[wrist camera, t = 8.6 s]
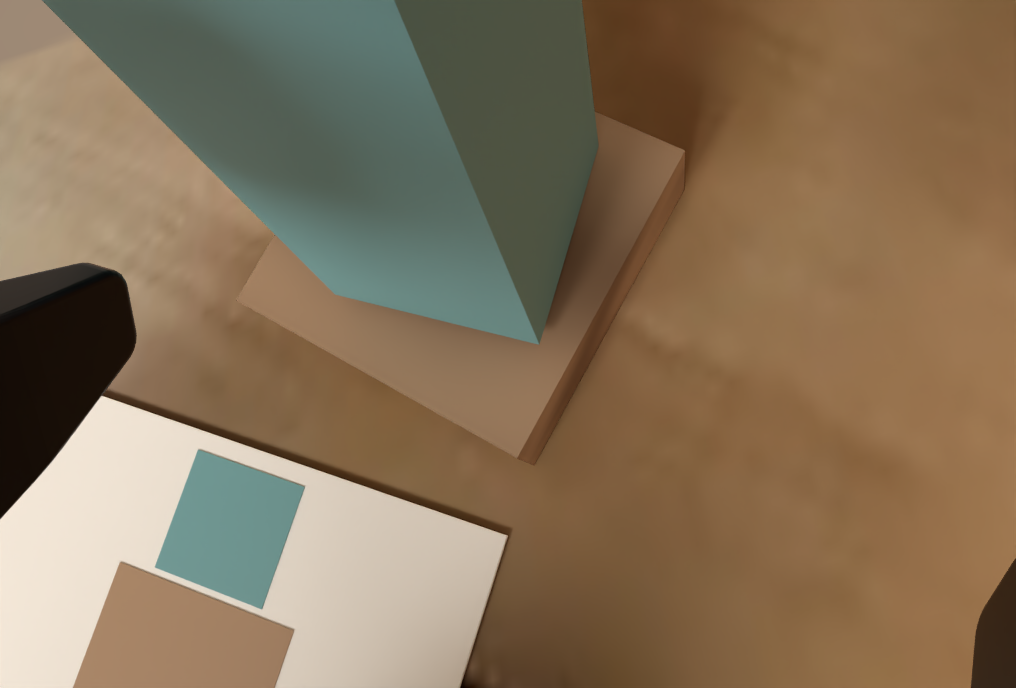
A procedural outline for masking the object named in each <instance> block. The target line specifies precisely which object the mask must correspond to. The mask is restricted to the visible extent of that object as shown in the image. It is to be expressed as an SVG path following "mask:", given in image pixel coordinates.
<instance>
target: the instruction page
mask: <svg viewBox="0 0 1016 688" xmlns="http://www.w3.org/2000/svg"><path fill="white" fill-rule="evenodd" d="M507 538H508V535H505V534H502V533H499V532H496V531H493V530H490V529H487V528H484V527H482V526H479V525H476V524H473V523H470V522H467V521H464V520H461V519H458V518H455V517H453V516H450V515H447V514H444V513H441V512H438V511H435V510H432V509H429V508H426V507H424V506H421V505H418V504H415V503H412V502H409V501H406V500H403V499H400V498H397V497H395V496H392V495H389V494H386V493H383V492H380V491H377V490H374V489H371V488H368V487H366V486H363V485H360V484H357V483H354V482H351V481H348V480H345V479H342V478H339V477H337V476H334V475H331V474H328V473H325V472H322V471H319V470H316V469H313V468H310V467H308V466H305V465H302V464H299V463H296V462H293V461H290V460H287V459H284V458H281V457H279V456H276V455H273V454H270V453H267V452H264V451H261V450H258V449H255V448H252V447H250V446H247V445H244V444H241V443H238V442H235V441H232V440H229V439H226V438H223V437H221V436H218V435H215V434H212V433H209V432H206V431H203V430H200V429H197V428H194V427H192V426H189V425H186V424H183V423H180V422H177V421H174V420H171V419H168V418H165V417H163V416H160V415H157V414H154V413H151V412H148V411H145V410H142V409H139V408H136V407H134V406H131V405H128V404H125V403H122V402H119V401H116V400H113V399H110V398H107V397H105V396H101V397H100V399H99V400H98V401H97V403H96V404H95V405H94V407H93V408H92V409H91V411H90V412H89V413H88V415H87V416H86V417H85V419H84V420H83V421H82V423H81V424H80V426H79V427H78V428H77V430H76V431H75V432H74V434H73V435H72V436H71V438H70V439H69V440H68V442H67V443H66V444H65V446H64V447H63V448H62V450H61V451H60V452H59V453H58V455H57V456H56V457H55V458H54V460H53V461H52V462H51V463H50V465H49V466H48V467H47V468H46V469H45V470H44V472H43V473H42V474H41V475H40V476H39V477H38V479H37V480H36V481H35V482H34V483H33V484H32V485H31V486H30V487H29V488H28V490H27V491H26V492H25V493H24V494H23V495H22V496H21V497H20V498H19V499H18V501H17V502H16V503H15V504H14V505H13V506H12V507H11V508H10V509H9V510H8V512H7V513H6V514H5V515H4V516H3V517H2V518H1V519H0V688H460V686H461V683H462V680H463V677H464V674H465V671H466V667H467V664H468V661H469V658H470V655H471V652H472V648H473V645H474V642H475V639H476V636H477V633H478V629H479V626H480V623H481V620H482V617H483V614H484V611H485V607H486V604H487V601H488V598H489V595H490V592H491V588H492V585H493V582H494V579H495V576H496V573H497V570H498V566H499V563H500V560H501V557H502V554H503V551H504V547H505V544H506V541H507Z"/></svg>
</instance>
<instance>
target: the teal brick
mask: <svg viewBox="0 0 1016 688" xmlns="http://www.w3.org/2000/svg"><path fill="white" fill-rule="evenodd" d="M42 1H43V2H44V3H45V4H46V5H47V6H48V7H49V8H50V9H51V10H52V11H53V12H54V13H55V14H56V15H57V16H58V17H59V18H60V19H61V20H62V21H63V22H64V23H65V24H66V25H67V26H68V27H69V28H70V29H71V30H72V31H73V32H74V33H75V34H76V35H77V36H78V37H79V38H80V39H81V40H82V41H83V42H84V43H85V44H86V45H87V46H88V47H89V48H90V49H91V50H92V51H93V52H94V53H95V54H96V55H97V56H98V57H99V58H100V59H101V60H102V61H103V62H104V63H105V64H106V65H107V66H108V67H109V68H110V69H111V70H112V71H113V72H114V73H115V74H116V75H117V76H118V77H119V78H120V79H121V80H122V81H123V82H124V83H125V84H126V85H127V86H128V87H129V88H130V89H131V90H132V91H133V92H134V93H135V94H136V95H137V96H138V97H139V98H140V99H141V100H142V101H143V102H144V103H145V104H146V105H147V106H148V107H149V108H150V109H151V110H152V111H153V112H154V113H155V114H156V115H157V116H158V117H159V118H160V119H161V120H162V121H163V122H164V123H165V124H166V125H167V126H168V127H169V128H170V129H171V130H172V131H173V132H174V133H175V134H176V135H177V136H178V137H179V138H180V139H181V140H182V141H183V142H184V143H185V144H186V145H187V146H188V147H189V148H190V149H191V150H192V151H193V152H194V153H195V154H196V155H197V156H198V158H199V159H200V160H201V161H202V162H203V163H204V164H205V165H206V166H207V167H208V168H209V169H210V170H211V171H212V172H213V173H214V174H215V175H216V176H217V177H218V178H219V179H220V180H221V181H222V182H223V183H224V184H225V185H226V186H227V187H228V188H229V189H230V190H231V191H232V192H233V193H234V194H235V195H236V196H237V197H238V198H239V199H240V200H241V201H242V202H243V203H244V204H245V205H246V206H247V207H248V208H249V209H250V210H251V211H252V212H253V213H254V214H255V215H256V216H257V217H258V218H259V219H260V220H261V221H262V222H263V223H264V224H265V225H266V226H267V227H268V228H269V229H270V230H271V231H272V232H273V233H274V234H275V235H276V236H277V237H278V238H279V239H280V240H281V241H282V242H283V243H284V244H285V245H286V246H287V247H288V248H289V249H290V250H291V251H292V252H293V253H294V254H295V255H296V256H297V257H298V258H299V259H300V260H301V261H302V262H303V263H304V264H305V265H306V266H307V267H308V268H309V269H310V270H311V271H312V272H313V273H314V274H315V275H316V276H317V277H318V278H319V279H320V280H321V281H322V282H323V283H324V284H325V285H326V286H327V287H328V288H329V289H330V290H331V291H332V292H333V293H334V294H335V295H339V296H343V297H347V298H351V299H355V300H359V301H363V302H367V303H371V304H375V305H379V306H383V307H388V308H392V309H396V310H400V311H404V312H408V313H412V314H416V315H420V316H424V317H428V318H432V319H436V320H440V321H444V322H449V323H453V324H457V325H461V326H465V327H469V328H473V329H477V330H481V331H485V332H489V333H493V334H497V335H501V336H506V337H510V338H514V339H518V340H522V341H526V342H530V343H534V344H538V345H539V344H540V341H541V338H542V334H543V331H544V328H545V324H546V321H547V318H548V314H549V311H550V308H551V304H552V301H553V298H554V294H555V291H556V287H557V284H558V281H559V277H560V274H561V271H562V267H563V264H564V261H565V257H566V254H567V251H568V247H569V244H570V241H571V237H572V234H573V230H574V227H575V224H576V220H577V217H578V214H579V210H580V207H581V204H582V200H583V197H584V194H585V190H586V187H587V184H588V180H589V177H590V173H591V170H592V167H593V163H594V160H595V157H596V153H597V150H598V147H599V145H598V136H597V127H596V119H595V110H594V101H593V93H592V84H591V76H590V67H589V58H588V50H587V41H586V32H585V24H584V15H583V6H582V0H42Z"/></svg>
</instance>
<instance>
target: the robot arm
mask: <svg viewBox="0 0 1016 688" xmlns="http://www.w3.org/2000/svg"><path fill="white" fill-rule="evenodd" d="M136 337H137V335H136V328H135V323H134V318H133V313H132V308H131V302H130V297H129V292H128V287H127V283H126V281H125V279H124V278H123V276H122V275H121V274H120V273H118V272H117V271H115V270H111V269H108V268H105V267H101V266H98V265H95V264H91V263H78V264H74V265H69V266H65V267H61V268H56V269H52V270H47V271H43V272H38V273H34V274H30V275H25V276H21V277H16V278H12V279H8V280H3V281H0V519H1V518H2V517H3V516H4V515H5V514H6V513H7V512H8V510H9V509H10V508H11V507H12V506H13V505H14V504H15V503H16V502H17V501H18V499H19V498H20V497H21V496H22V495H23V494H24V493H25V492H26V491H27V490H28V488H29V487H30V486H31V485H32V484H33V483H34V482H35V481H36V480H37V479H38V477H39V476H40V475H41V474H42V473H43V472H44V470H45V469H46V468H47V467H48V466H49V465H50V463H51V462H52V461H53V460H54V458H55V457H56V456H57V455H58V453H59V452H60V451H61V450H62V448H63V447H64V446H65V444H66V443H67V442H68V440H69V439H70V438H71V436H72V435H73V434H74V432H75V431H76V430H77V428H78V427H79V426H80V424H81V423H82V421H83V420H84V419H85V417H86V416H87V415H88V413H89V412H90V411H91V409H92V408H93V407H94V405H95V404H96V403H97V401H98V400H99V399H100V397H101V396H102V395H103V393H104V392H105V391H106V389H107V388H108V386H109V385H110V384H111V382H112V381H113V380H114V378H115V377H116V376H117V374H118V373H119V372H120V370H121V369H122V368H123V366H124V365H125V364H126V362H127V361H128V360H129V358H130V357H131V355H132V353H133V351H134V348H135V344H136ZM971 688H1016V559H1015V560H1014V561H1013V563H1012V564H1011V566H1010V568H1009V569H1008V571H1007V572H1006V574H1005V575H1004V577H1003V579H1002V580H1001V582H1000V583H999V585H998V586H997V588H996V590H995V591H994V593H993V594H992V596H991V598H990V599H989V601H988V602H987V604H986V605H985V607H984V609H983V611H982V613H981V615H980V618H979V621H978V624H977V629H976V635H975V645H974V657H973V669H972V680H971Z"/></svg>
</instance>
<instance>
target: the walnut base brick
mask: <svg viewBox="0 0 1016 688" xmlns="http://www.w3.org/2000/svg"><path fill="white" fill-rule="evenodd" d="M595 119H596V127H597V136H598V145H599V147H598V150H597V153H596V157H595V160H594V163H593V167H592V170H591V173H590V177H589V180H588V184H587V187H586V190H585V194H584V197H583V200H582V204H581V207H580V210H579V214H578V217H577V220H576V224H575V227H574V230H573V234H572V237H571V241H570V244H569V247H568V251H567V254H566V257H565V261H564V264H563V267H562V271H561V274H560V277H559V281H558V284H557V287H556V291H555V294H554V298H553V301H552V304H551V308H550V311H549V314H548V318H547V321H546V324H545V328H544V331H543V334H542V338H541V341H540V344H539V345H538V344H534V343H530V342H526V341H522V340H518V339H514V338H510V337H506V336H501V335H497V334H493V333H489V332H485V331H481V330H477V329H473V328H469V327H465V326H461V325H457V324H453V323H449V322H444V321H440V320H436V319H432V318H428V317H424V316H420V315H416V314H412V313H408V312H404V311H400V310H396V309H392V308H388V307H383V306H379V305H375V304H371V303H367V302H363V301H359V300H355V299H351V298H347V297H343V296H339V295H335V294H334V293H333V292H332V291H331V290H330V289H329V288H328V287H327V286H326V285H325V284H324V283H323V282H322V281H321V280H320V279H319V278H318V277H317V276H316V275H315V274H314V273H313V272H312V271H311V270H310V269H309V268H308V267H307V266H306V265H305V264H304V263H303V262H302V261H301V260H300V259H299V258H298V257H297V256H296V255H295V254H294V253H293V252H292V251H291V250H290V249H289V248H288V247H287V246H286V245H285V244H284V243H283V242H282V241H281V240H280V239H279V238H278V237H277V236H276V235H274V236H273V238H272V240H271V241H270V243H269V245H268V247H267V248H266V250H265V252H264V253H263V255H262V257H261V259H260V260H259V262H258V264H257V265H256V267H255V269H254V270H253V272H252V274H251V276H250V277H249V279H248V281H247V282H246V284H245V286H244V288H243V289H242V291H241V293H240V294H239V296H238V298H237V299H236V301H238V302H240V303H241V304H243V305H245V306H247V307H248V308H250V309H252V310H254V311H256V312H257V313H259V314H261V315H263V316H264V317H266V318H268V319H270V320H272V321H273V322H275V323H277V324H279V325H281V326H282V327H284V328H286V329H288V330H289V331H291V332H293V333H295V334H297V335H298V336H300V337H302V338H304V339H305V340H307V341H309V342H311V343H313V344H314V345H316V346H318V347H320V348H321V349H323V350H325V351H327V352H329V353H330V354H332V355H334V356H336V357H338V358H339V359H341V360H343V361H345V362H346V363H348V364H350V365H352V366H354V367H355V368H357V369H359V370H361V371H362V372H364V373H366V374H368V375H370V376H371V377H373V378H375V379H377V380H378V381H380V382H382V383H384V384H386V385H387V386H389V387H391V388H393V389H395V390H396V391H398V392H400V393H402V394H403V395H405V396H407V397H409V398H411V399H412V400H414V401H416V402H418V403H419V404H421V405H423V406H425V407H427V408H428V409H430V410H432V411H434V412H435V413H437V414H439V415H441V416H443V417H444V418H446V419H448V420H450V421H452V422H453V423H455V424H457V425H459V426H460V427H462V428H464V429H466V430H468V431H469V432H471V433H473V434H475V435H476V436H478V437H480V438H482V439H484V440H485V441H487V442H489V443H491V444H492V445H494V446H496V447H498V448H500V449H501V450H503V451H505V452H507V453H509V454H510V455H512V456H514V457H516V458H518V459H520V460H522V461H525V462H527V463H530V464H532V465H535V463H536V461H537V459H538V457H539V456H540V454H541V452H542V450H543V448H544V446H545V445H546V443H547V441H548V439H549V437H550V435H551V434H552V432H553V430H554V428H555V426H556V424H557V423H558V421H559V419H560V417H561V415H562V413H563V412H564V410H565V408H566V406H567V404H568V402H569V401H570V399H571V397H572V395H573V393H574V391H575V389H576V388H577V386H578V384H579V382H580V380H581V378H582V377H583V375H584V373H585V371H586V369H587V367H588V366H589V364H590V362H591V360H592V358H593V356H594V355H595V353H596V351H597V349H598V347H599V345H600V344H601V342H602V340H603V338H604V336H605V334H606V333H607V331H608V329H609V327H610V325H611V323H612V321H613V320H614V318H615V316H616V314H617V312H618V310H619V309H620V307H621V305H622V303H623V301H624V299H625V298H626V296H627V294H628V292H629V290H630V288H631V287H632V285H633V283H634V281H635V279H636V277H637V276H638V274H639V272H640V270H641V268H642V266H643V265H644V263H645V261H646V259H647V257H648V255H649V253H650V252H651V250H652V248H653V246H654V244H655V242H656V241H657V239H658V237H659V235H660V233H661V231H662V230H663V228H664V226H665V224H666V222H667V220H668V219H669V217H670V215H671V213H672V211H673V209H674V208H675V206H676V204H677V202H678V200H679V198H680V196H681V195H682V193H683V191H684V180H685V150H683V149H680V148H678V147H676V146H673V145H671V144H669V143H667V142H664V141H662V140H660V139H657V138H655V137H653V136H650V135H648V134H646V133H644V132H641V131H639V130H637V129H634V128H632V127H630V126H628V125H625V124H623V123H621V122H618V121H616V120H614V119H612V118H609V117H607V116H605V115H602V114H600V113H598V112H595Z"/></svg>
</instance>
